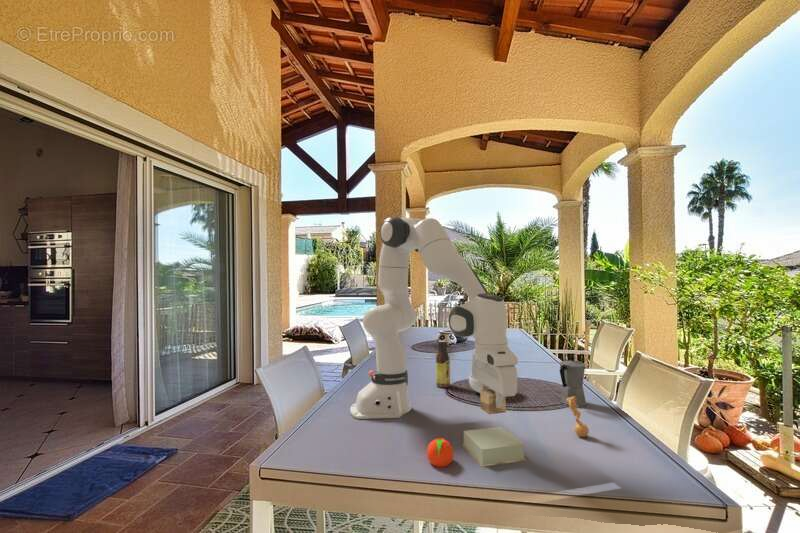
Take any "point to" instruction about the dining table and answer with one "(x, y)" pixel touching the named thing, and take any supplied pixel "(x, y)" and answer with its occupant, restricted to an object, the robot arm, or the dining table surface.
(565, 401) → the coffeepot
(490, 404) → the oak cube
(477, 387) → the cereal bowl
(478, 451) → the plinth block
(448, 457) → the clementine
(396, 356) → the robot arm
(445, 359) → the sauce bottle
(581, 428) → the figurine
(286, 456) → the dining table surface
